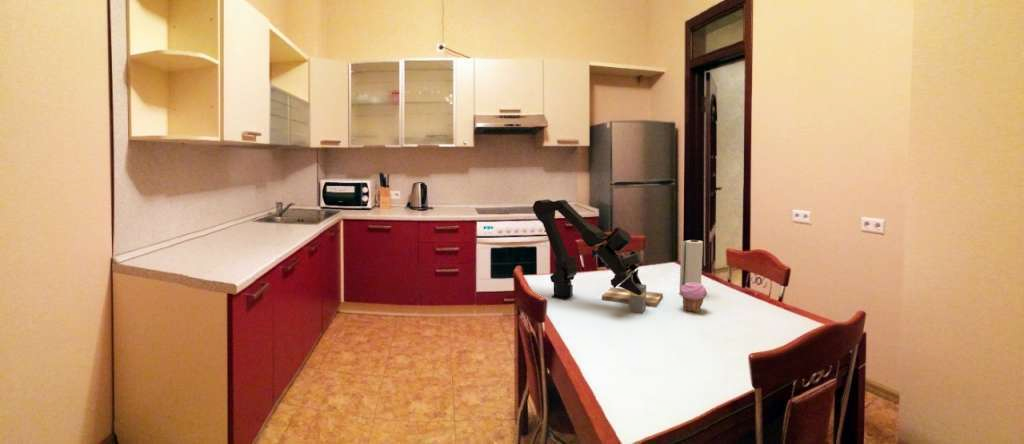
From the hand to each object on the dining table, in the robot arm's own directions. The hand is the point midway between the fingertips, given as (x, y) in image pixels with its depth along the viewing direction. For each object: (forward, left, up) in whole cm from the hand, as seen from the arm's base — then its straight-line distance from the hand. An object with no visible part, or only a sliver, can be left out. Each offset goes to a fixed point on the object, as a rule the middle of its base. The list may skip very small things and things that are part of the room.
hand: (642, 292), depth 159 cm
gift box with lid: (-1, 0, -7) cm, 7 cm away
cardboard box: (-6, +13, -7) cm, 16 cm away
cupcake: (+16, +9, -7) cm, 19 cm away
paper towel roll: (+13, +28, -7) cm, 31 cm away
